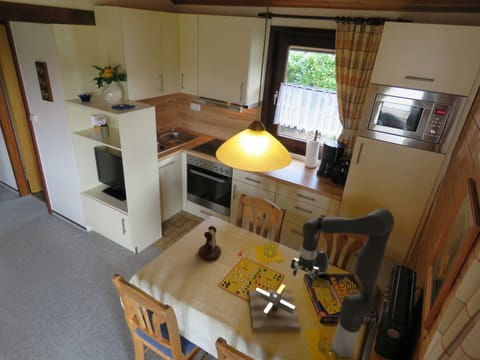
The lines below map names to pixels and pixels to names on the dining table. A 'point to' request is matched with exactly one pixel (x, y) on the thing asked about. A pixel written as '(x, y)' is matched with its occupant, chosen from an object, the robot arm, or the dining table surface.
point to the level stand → (272, 313)
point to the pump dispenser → (321, 262)
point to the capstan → (274, 301)
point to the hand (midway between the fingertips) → (302, 278)
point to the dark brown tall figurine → (210, 245)
